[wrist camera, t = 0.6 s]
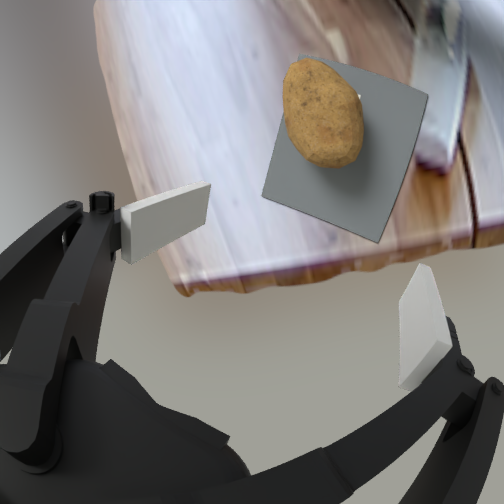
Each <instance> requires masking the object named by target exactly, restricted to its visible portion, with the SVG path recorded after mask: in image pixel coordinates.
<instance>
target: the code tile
mask: <svg viewBox="0 0 504 504" xmlns="http://www.w3.org/2000/svg"><path fill="white" fill-rule="evenodd" d="M304 58H310V59H314V60H318V61H322V62H324V63H325V64H327V65H328V66H330V67H331V68H333V69H334V70H335V71H336V72H337V73H338V74H339V75H340V76H341V77H342V78H343V79H344V80H346V81H347V82H348V83H349V84H350V85H351V86H352V87H353V89H354V90H355V91H356V92H357V94H358V96H359V99H360V101H361V103H362V109H363V123H364V135H363V144H362V148H361V150H360V152H359V154H358V156H357V158H356V160H355V161H354V162H352V163H349V164H347V165H345V166H343V167H341V168H339V169H338V168H324V167H319V166H317V165H315V164H313V163H311V162H309V161H307V160H306V159H305V158H304V157H303V156H302V155H301V154H300V153H299V152H298V150H297V149H296V148H295V146H294V145H293V143H292V142H291V140H290V139H289V137H288V133H287V129H286V125H285V118H284V112H283V116H282V120H281V124H280V127H279V131H278V135H277V139H276V142H275V146H274V150H273V154H272V158H271V161H270V165H269V169H268V173H267V177H266V180H265V184H264V188H263V192H262V197H265V198H268V199H270V200H273V201H276V202H278V203H281V204H284V205H286V206H289V207H292V208H294V209H297V210H299V211H302V212H305V213H307V214H310V215H312V216H315V217H317V218H320V219H322V220H325V221H327V222H330V223H332V224H334V225H337V226H339V227H342V228H344V229H347V230H349V231H351V232H354V233H356V234H358V235H361V236H363V237H365V238H368V239H370V240H372V241H374V242H377V243H378V241H379V239H380V236H381V234H382V232H383V229H384V227H385V224H386V222H387V220H388V217H389V215H390V212H391V210H392V207H393V205H394V202H395V199H396V197H397V194H398V191H399V189H400V186H401V183H402V180H403V178H404V175H405V172H406V169H407V166H408V163H409V160H410V157H411V154H412V151H413V147H414V144H415V141H416V138H417V134H418V131H419V127H420V124H421V120H422V116H423V112H424V108H425V104H426V100H427V96H428V94H426V93H424V92H422V91H419V90H417V89H415V88H412V87H410V86H408V85H405V84H403V83H400V82H398V81H395V80H392V79H390V78H387V77H384V76H381V75H378V74H375V73H372V72H369V71H366V70H363V69H360V68H356V67H353V66H349V65H346V64H342V63H338V62H334V61H330V60H326V59H322V58H317V57H313V56H308V55H303V54H299V56H298V60H297V61H299V60H302V59H304Z"/></svg>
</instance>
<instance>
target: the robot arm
mask: <svg viewBox="0 0 504 504" xmlns="http://www.w3.org/2000/svg"><path fill="white" fill-rule="evenodd" d="M210 188H211V184H209V183H206V182H203V181H199V182H196V183H193V184H189V185H186V186H183V187H179V188H176V189H173V190H170V191H167V192H164V193H161V194H158V195H155V196H152V197H149V198H146V199H143V200H140V201H137V202H134V203H131V204H129V205H126V206H123V207H121V208H120V209H118V210H115V211H114V193H111V192H108V191H99V192H95V193H92V194H91V195H90V196H89V198H90V200H89V201H90V212H89V213H88V212H83V203H81V202H79V201H74V200H73V201H68V202H66V203H64V204H62V205H60V206H59V207H58V208H56V209H55V210H54V211H52V212H51V213H50V214H48V215H47V216H45V217H44V218H43V219H42V220H40V221H39V222H38V223H36V224H35V225H34V226H33V227H32V228H30V229H29V230H28V231H27V232H25V233H24V234H23V235H22V236H21V237H19V238H18V239H17V240H16V241H15V242H13V243H12V244H11V245H10V246H9V247H8V248H7V249H5V251H3V252H2V253H1V254H0V361H1V360H2V359H3V358H4V357H5V356H6V355H7V354H8V352H9V351H10V350H11V349H12V351H11V353H10V356H9V360H8V363H7V364H0V504H340V503H341V502H343V501H345V500H346V499H347V498H349V497H350V496H351V495H352V494H353V492H354V491H355V490H357V489H358V488H359V487H361V486H362V485H364V484H365V483H367V482H368V481H369V480H371V479H372V478H373V477H375V476H376V475H377V474H379V473H380V472H381V471H383V470H384V469H385V468H386V467H388V466H389V465H390V464H391V463H393V462H394V461H395V460H396V459H397V458H399V457H400V456H401V455H402V454H403V453H404V452H405V451H407V450H408V449H409V448H410V447H411V446H412V445H413V444H414V443H415V442H416V441H417V440H418V439H419V438H420V437H421V436H423V434H425V433H426V432H427V431H428V429H430V428H431V427H432V425H433V424H434V423H435V422H436V421H437V420H438V419H439V418H440V417H441V416H442V417H443V418H445V419H446V420H447V422H446V424H445V426H444V428H443V430H442V432H441V434H440V436H439V439H438V440H437V442H436V444H435V447H434V448H433V450H432V452H431V454H430V455H429V457H428V459H427V461H426V463H425V464H424V466H423V468H422V469H421V471H420V472H419V474H418V476H417V477H416V479H415V480H414V482H413V483H412V485H411V486H410V488H409V489H408V491H407V492H406V494H405V495H404V497H403V498H402V499H401V501H400V502H399V504H476V503H477V501H478V498H479V496H480V494H481V491H482V489H483V486H484V483H485V481H486V478H487V475H488V472H489V469H490V466H491V463H492V460H493V456H494V453H495V449H496V446H497V442H498V438H499V434H500V429H501V424H502V419H503V413H504V385H503V383H502V382H500V381H499V380H498V379H497V378H495V377H490V378H489V379H488V380H487V381H486V382H485V383H482V382H480V381H479V380H478V379H476V378H475V377H474V374H475V370H474V367H473V365H472V363H471V362H470V361H469V359H467V358H466V357H465V356H463V355H462V354H461V349H460V345H459V341H458V337H457V334H456V329H455V326H454V324H453V322H452V321H451V319H450V318H449V317H447V316H445V312H444V309H443V305H442V302H441V298H440V295H439V291H438V288H437V285H436V282H435V279H434V276H433V273H432V270H431V268H430V267H429V266H426V265H424V264H422V263H419V265H418V267H417V269H416V271H415V273H414V275H413V276H412V279H411V280H410V282H409V284H408V286H407V288H406V290H405V292H404V293H403V295H402V297H401V299H400V301H399V321H400V364H399V386H398V387H399V388H402V389H405V390H408V391H411V392H410V393H409V394H408V395H407V396H405V397H404V398H403V399H401V400H400V401H399V402H397V403H396V404H395V405H393V406H392V407H390V408H389V409H388V410H386V411H385V412H383V413H382V414H380V415H379V416H378V417H376V418H374V419H373V420H371V421H370V422H368V423H367V424H365V425H363V426H362V427H360V428H359V429H357V430H355V431H354V432H352V433H350V434H349V435H347V436H345V437H343V438H342V439H340V440H338V441H336V442H334V443H333V444H331V445H329V446H327V447H324V448H322V447H320V448H317V449H315V450H313V451H310V452H308V453H306V454H304V455H302V456H299V457H297V458H295V459H293V460H290V461H288V462H286V463H283V464H281V465H278V466H277V467H273V468H271V469H268V470H266V471H263V472H260V473H258V474H255V475H252V476H251V474H250V472H249V470H248V468H247V466H246V465H245V463H244V462H243V460H242V459H241V458H240V456H239V455H238V454H237V453H236V452H235V451H234V450H233V449H232V448H231V447H229V446H228V445H227V443H228V440H229V438H230V436H229V435H227V434H225V433H223V432H221V431H219V430H217V429H215V428H213V427H211V426H210V425H208V424H206V423H204V422H202V421H201V420H199V419H197V418H195V417H191V416H188V415H186V414H183V413H180V412H177V411H174V410H171V409H168V408H166V407H163V406H161V405H159V404H157V403H156V402H155V401H154V400H153V399H152V397H151V396H150V395H149V394H148V393H147V392H146V390H145V389H144V388H143V387H142V386H141V385H140V383H139V382H138V381H137V380H136V379H135V377H133V376H132V375H131V374H129V373H128V372H127V371H125V370H124V369H123V368H122V367H120V366H119V365H118V364H117V363H115V362H114V361H113V360H112V359H110V360H109V361H108V362H107V363H106V364H104V365H103V364H100V363H97V362H96V352H97V346H98V345H97V344H98V339H99V333H100V327H101V322H102V316H103V311H104V306H105V301H106V297H107V292H108V287H109V284H110V279H111V275H112V271H113V267H114V263H115V260H116V251H117V250H119V249H121V257H122V259H123V260H125V261H126V262H128V263H130V264H131V265H132V264H134V263H135V262H137V261H139V260H141V259H142V258H144V257H146V256H148V255H149V254H151V253H153V252H154V251H157V250H158V249H160V248H162V247H164V246H165V245H167V244H169V243H171V242H173V241H174V240H176V239H178V238H180V237H182V236H184V235H185V234H187V233H189V232H191V231H193V230H195V229H196V228H198V227H200V226H202V225H204V224H205V221H206V214H207V207H208V201H209V194H210ZM62 235H63V239H64V242H63V243H62ZM12 347H13V348H12Z"/></svg>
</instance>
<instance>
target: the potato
mask: <svg viewBox="0 0 504 504" xmlns="http://www.w3.org/2000/svg"><path fill="white" fill-rule="evenodd" d="M283 107H284V118H285V125H286V129H287V133H288V137H289V139H290V140H291V142H292V143H293V145H294V146H295V148H296V149H297V150H298V152H299V153H300V154H301V155H302V156H303V157H304V158H305V159H306V160H307V161H309V162H311V163H313V164H315V165H317V166H319V167H324V168H338V169H339V168H341V167H343V166H345V165H347V164H349V163H352V162H354V161H355V160H356V158H357V156H358V154H359V152H360V150H361V148H362V144H363V135H364V123H363V109H362V103H361V101H360V99H359V96H358V94H357V92H356V91H355V90H354V89H353V87H352V86H351V85H350V84H349V83H348V82H347V81H346V80H344V79H343V78H342V77H341V76H340V75H339V74H338V73H337V72H336V71H335V70H334V69H333V68H331V67H330V66H328V65H327V64H325V63H324V62H322V61H318V60H314V59H310V58H304V59H302V60H299V61H297V62H295V63H292V64H291V65H290V67H289V69H288V72H287V74H286V76H285V78H284V80H283Z"/></svg>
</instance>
